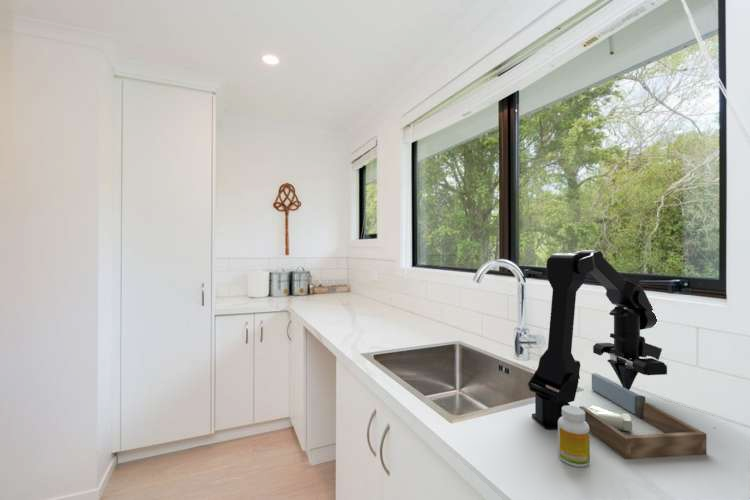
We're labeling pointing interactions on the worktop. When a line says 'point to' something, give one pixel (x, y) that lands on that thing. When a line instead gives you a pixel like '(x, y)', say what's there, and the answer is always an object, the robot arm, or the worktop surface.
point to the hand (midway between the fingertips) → (626, 389)
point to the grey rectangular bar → (615, 392)
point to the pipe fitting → (613, 418)
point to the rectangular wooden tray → (650, 435)
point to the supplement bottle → (573, 437)
